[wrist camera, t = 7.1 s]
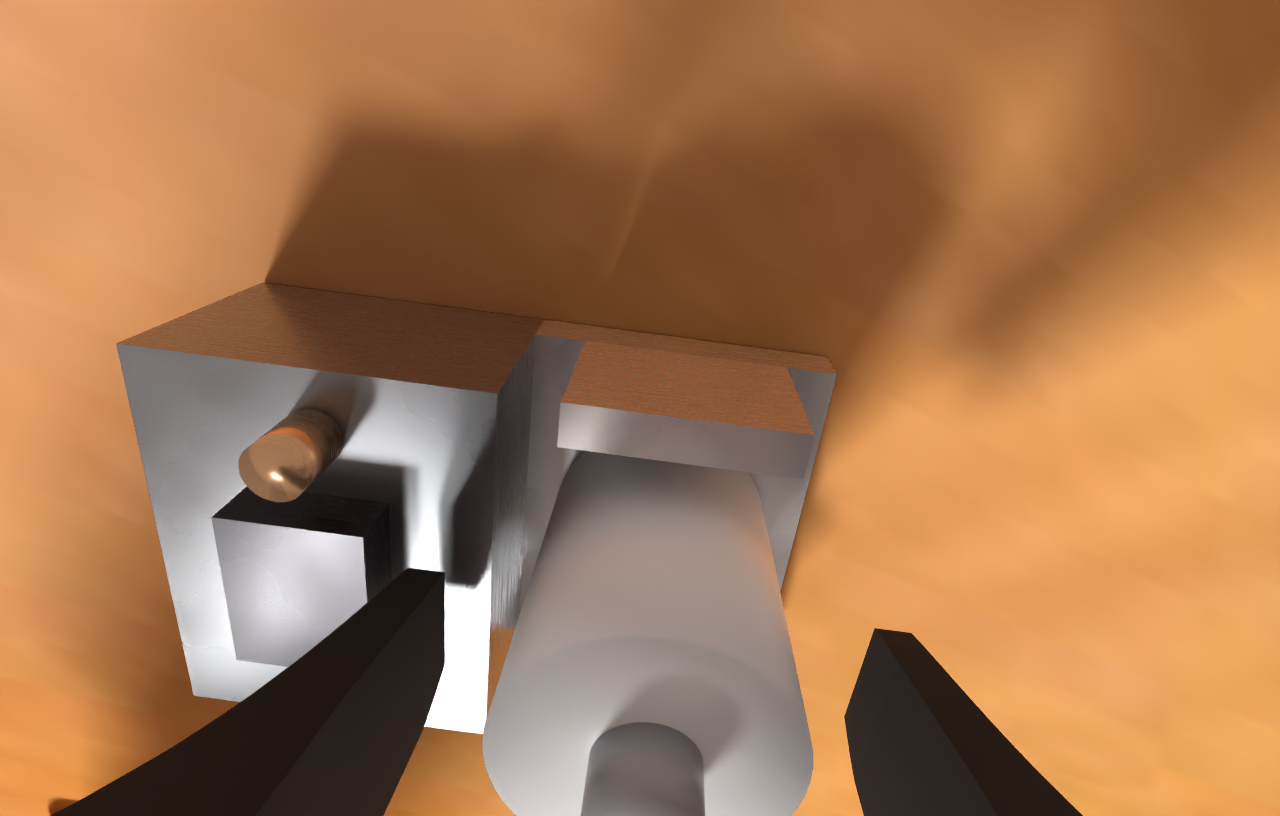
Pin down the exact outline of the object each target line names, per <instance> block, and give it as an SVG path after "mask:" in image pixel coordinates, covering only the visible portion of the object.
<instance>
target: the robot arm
mask: <svg viewBox="0 0 1280 816" xmlns="http://www.w3.org/2000/svg"><path fill="white" fill-rule="evenodd" d="M444 666H445V572H439V571H431V570H423V569H415V568H407V569H406V570H404V571H403V572H402V573H401V574H399V575H398V576H397V577H396V578H395V579H394V580H392V581H391V582H390V583H389V584H388V585H387V586H385V587H384V588H383V589H382V590H381V591H380V592H379V593H377V594H376V595H375V596H374V597H373V598H372V599H371V600H369V601H368V602H367V603H366V604H365V605H364V606H362V607H361V608H360V609H359V610H358V611H357V612H355V613H354V614H353V615H352V616H351V617H350V618H348V619H347V620H346V621H345V622H344V623H343V624H341V625H340V626H339V627H338V628H336V629H335V630H334V631H333V632H331V633H330V634H329V635H328V636H327V637H325V638H324V639H323V640H322V641H320V642H319V643H318V644H317V645H316V646H314V647H313V648H312V649H311V650H309V651H308V652H307V653H306V654H304V655H303V656H302V657H301V658H299V659H298V660H297V661H295V662H294V663H293V664H291V665H290V666H289V667H287V668H286V669H285V670H283V671H282V672H281V673H279V674H278V675H277V676H275V677H274V678H273V679H271V680H270V681H269V682H267V683H266V684H265V685H263V686H262V687H261V688H259V689H258V690H257V691H255V692H254V693H253V694H251V695H250V696H248V697H247V698H246V699H244V700H243V701H241V702H240V703H238V704H237V705H236V706H234V707H233V708H231V709H230V710H228V711H227V712H225V713H224V714H223V715H221V716H220V717H218V718H217V719H215V720H214V721H212V722H211V723H209V724H208V725H206V726H205V727H203V728H201V729H200V730H198V731H197V732H195V733H194V734H192V735H191V736H189V737H187V738H186V739H184V740H183V741H181V742H180V743H178V744H177V745H175V746H173V747H172V748H170V749H168V750H167V751H165V752H163V753H162V754H160V755H158V756H157V757H155V758H153V759H152V760H150V761H148V762H146V763H145V764H143V765H141V766H139V767H138V768H136V769H134V770H132V771H131V772H129V773H127V774H125V775H124V776H122V777H120V778H118V779H117V780H115V781H113V782H111V783H110V784H108V785H106V786H104V787H103V788H101V789H99V790H97V791H96V792H94V793H92V794H90V795H89V796H87V797H85V798H83V799H81V800H80V801H78V802H76V803H74V804H72V805H70V806H68V807H66V808H65V809H63V810H61V811H59V812H57V813H55V814H53V815H51V816H383V815H384V813H385V811H386V809H387V806H388V804H389V802H390V800H391V798H392V796H393V793H394V791H395V789H396V787H397V785H398V783H399V781H400V778H401V776H402V774H403V772H404V770H405V768H406V765H407V763H408V761H409V759H410V757H411V754H412V752H413V750H414V748H415V746H416V744H417V741H418V739H419V737H420V735H421V732H422V730H423V728H424V726H425V723H426V720H427V718H428V715H429V712H430V709H431V706H432V703H433V700H434V697H435V694H436V691H437V688H438V685H439V682H440V678H441V675H442V672H443V669H444ZM845 724H846V731H847V738H848V745H849V752H850V757H851V763H852V769H853V775H854V780H855V784H856V788H857V792H858V795H859V799H860V803H861V806H862V810H863V813H864V816H1083V815H1082V814H1080V813H1079V812H1078V811H1077V810H1076V809H1075V808H1074V807H1073V806H1072V805H1071V804H1070V803H1069V802H1068V801H1067V800H1066V799H1065V798H1064V797H1063V796H1062V795H1061V794H1060V793H1059V792H1058V791H1057V790H1056V789H1055V788H1054V787H1053V786H1052V785H1051V784H1050V783H1049V782H1048V781H1047V780H1046V779H1045V778H1044V777H1043V776H1042V775H1041V774H1040V773H1039V772H1038V771H1037V770H1036V769H1035V768H1034V767H1033V766H1032V765H1031V764H1030V763H1029V762H1028V761H1027V760H1026V759H1025V757H1024V756H1023V755H1022V754H1021V753H1020V752H1019V751H1018V750H1017V749H1016V748H1015V747H1014V746H1013V745H1012V744H1011V743H1010V742H1009V741H1008V740H1007V738H1006V737H1005V736H1004V735H1003V734H1002V733H1001V732H1000V731H999V730H998V729H997V728H996V727H995V726H994V724H993V723H992V722H991V721H990V720H989V719H988V718H987V717H986V716H985V715H984V713H983V712H982V711H981V710H980V709H979V708H978V707H977V706H976V705H975V704H974V702H973V701H972V700H971V699H970V698H969V697H968V696H967V695H966V693H965V692H964V691H963V690H962V689H961V688H960V687H959V686H958V684H957V683H956V682H955V681H954V680H953V679H952V678H951V677H950V675H949V674H948V673H947V672H946V671H945V670H944V669H943V667H942V666H941V665H940V664H939V663H938V662H937V661H936V660H935V658H934V657H933V656H932V655H931V654H930V653H929V652H928V651H927V650H926V648H925V647H924V646H923V645H922V644H921V643H920V642H919V641H918V640H917V639H916V638H915V637H914V636H913V634H912V633H906V632H899V631H891V630H883V629H876V628H875V629H874V632H873V635H872V638H871V641H870V644H869V647H868V649H867V652H866V655H865V658H864V661H863V664H862V667H861V670H860V673H859V676H858V679H857V682H856V684H855V687H854V690H853V693H852V696H851V699H850V702H849V705H848V708H847V711H846V714H845Z"/></svg>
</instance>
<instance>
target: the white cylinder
mask: <svg viewBox="0 0 1280 816" xmlns="http://www.w3.org/2000/svg"><path fill="white" fill-rule="evenodd" d="M482 747H483V757H484V762H485V766H486V770H487V773H488V776H489V778H490V780H491V782H492V784H493V786H494V788H495V790H496V791H497V793H498V794H499V796H500V797H501V799H502V800H503V802H504V803H505V804H506V805H507V806H508V808H509V809H510V810H511V811H512V812H513V813H514V814H515V815H516V816H791V815H792V814H793V813H794V812H795V811H796V809H797V808H798V806H799V805H800V803H801V801H802V800H803V798H804V796H805V794H806V791H807V789H808V786H809V784H810V780H811V775H812V770H813V749H812V743H811V738H810V733H809V728H808V723H807V719H806V714H805V709H804V704H803V699H802V695H801V690H800V685H799V680H798V675H797V671H796V666H795V661H794V656H793V651H792V647H791V642H790V637H789V632H788V627H787V623H786V618H785V613H784V608H783V603H782V599H781V594H780V589H779V584H778V579H777V574H776V570H775V565H774V560H773V555H772V550H771V546H770V541H769V536H768V531H767V526H766V522H765V517H764V512H763V507H762V502H761V498H760V495H759V492H758V489H757V486H756V485H755V483H754V481H753V479H752V477H751V475H750V474H749V473H748V472H742V471H735V470H727V469H719V468H712V467H704V466H697V465H689V464H682V463H674V462H666V461H659V460H651V459H644V458H636V457H628V456H621V455H613V454H606V453H598V452H591V451H586V452H585V453H584V454H583V455H582V456H580V457H579V459H578V460H577V461H576V462H575V463H574V464H573V465H572V466H571V468H570V469H569V471H568V472H567V474H566V475H565V477H564V479H563V482H562V484H561V486H560V489H559V492H558V495H557V498H556V501H555V504H554V508H553V511H552V514H551V517H550V520H549V523H548V526H547V530H546V533H545V536H544V539H543V542H542V545H541V549H540V552H539V555H538V558H537V561H536V564H535V568H534V571H533V574H532V577H531V580H530V583H529V586H528V590H527V593H526V596H525V599H524V602H523V605H522V609H521V612H520V615H519V618H518V621H517V624H516V628H515V631H514V634H513V637H512V640H511V643H510V646H509V650H508V653H507V656H506V659H505V662H504V665H503V669H502V672H501V675H500V678H499V681H498V684H497V688H496V691H495V694H494V697H493V700H492V703H491V706H490V710H489V713H488V716H487V720H486V723H485V727H484V731H483V742H482Z"/></svg>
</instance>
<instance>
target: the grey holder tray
mask: <svg viewBox="0 0 1280 816" xmlns="http://www.w3.org/2000/svg"><path fill="white" fill-rule="evenodd" d="M116 344H117V349H118V353H119V358H120V363H121V367H122V372H123V376H124V381H125V385H126V390H127V394H128V399H129V404H130V408H131V413H132V417H133V422H134V426H135V431H136V435H137V440H138V445H139V449H140V454H141V458H142V463H143V467H144V472H145V476H146V481H147V485H148V490H149V495H150V499H151V504H152V508H153V513H154V517H155V522H156V526H157V531H158V536H159V540H160V545H161V549H162V554H163V558H164V563H165V567H166V572H167V577H168V581H169V586H170V590H171V595H172V599H173V604H174V608H175V613H176V618H177V622H178V627H179V631H180V636H181V640H182V645H183V649H184V654H185V659H186V663H187V668H188V672H189V677H190V681H191V686H192V690H193V695H194V696H199V697H206V698H214V699H221V700H229V701H237V702H241V701H243V700H244V699H246V698H247V697H248V696H250V695H251V694H253V693H254V692H255V691H257V690H258V689H259V688H261V687H262V686H263V685H265V684H266V683H267V682H269V681H270V680H271V679H273V678H274V677H275V676H277V675H278V674H279V673H281V672H282V671H283V670H285V669H286V668H287V667H289V666H290V665H291V664H293V663H294V662H295V661H297V660H298V659H299V658H301V657H302V656H303V655H304V654H306V653H307V652H308V651H309V650H311V649H312V648H313V647H314V646H316V645H317V644H318V643H319V642H320V641H322V640H323V639H324V638H325V637H327V636H328V635H329V634H330V633H331V632H333V631H334V630H335V629H336V628H338V627H339V626H340V625H341V624H343V623H344V622H345V621H346V620H347V619H348V618H350V617H351V616H352V615H353V614H354V613H355V612H357V611H358V610H359V609H360V608H361V607H362V606H364V605H365V604H366V603H367V602H368V601H369V600H371V599H372V598H373V597H374V596H375V595H376V594H377V593H379V592H380V591H381V590H382V589H383V588H384V587H385V586H387V585H388V584H389V583H390V582H391V581H392V580H394V579H395V578H396V577H397V576H398V575H399V574H401V573H402V572H403V571H404V570H406V569H407V568H415V569H423V570H431V571H439V572H445V666H444V669H443V672H442V675H441V678H440V682H439V685H438V688H437V691H436V694H435V697H434V700H433V703H432V706H431V709H430V712H429V715H428V718H427V720H426V723H425V727H433V728H440V729H448V730H456V731H463V732H471V733H478V734H483V731H484V727H485V723H486V720H487V716H488V713H489V710H490V706H491V703H492V700H493V697H494V694H495V691H496V688H497V684H498V681H499V678H500V675H501V672H502V669H503V665H504V662H505V659H506V656H507V653H508V650H509V646H510V643H511V640H512V637H513V634H514V631H515V628H516V624H517V621H518V618H519V615H520V612H521V609H522V605H523V602H524V599H525V596H526V593H527V590H528V586H529V583H530V580H531V577H532V574H533V571H534V568H535V564H536V561H537V558H538V555H539V552H540V549H541V545H542V542H543V539H544V536H545V533H546V530H547V526H548V523H549V520H550V517H551V514H552V511H553V508H554V504H555V501H556V498H557V495H558V492H559V489H560V486H561V484H562V482H563V479H564V477H565V475H566V474H567V472H568V471H569V469H570V468H571V466H572V465H573V464H574V463H575V462H576V461H577V460H578V459H579V457H580V456H582V455H583V454H584V453H585V452H586V451H591V452H598V453H606V454H613V455H621V456H628V457H636V458H644V459H651V460H659V461H666V462H674V463H682V464H689V465H697V466H704V467H712V468H719V469H727V470H735V471H742V472H748V473H749V474H750V475H751V477H752V479H753V481H754V483H755V485H756V486H757V489H758V492H759V495H760V498H761V502H762V507H763V512H764V517H765V522H766V526H767V531H768V536H769V541H770V546H771V550H772V555H773V560H774V565H775V570H776V574H777V579H778V584H779V589H780V592H781V588H782V584H783V580H784V576H785V572H786V569H787V565H788V561H789V557H790V553H791V549H792V546H793V542H794V538H795V534H796V530H797V526H798V523H799V519H800V515H801V511H802V507H803V503H804V500H805V496H806V492H807V488H808V484H809V480H810V477H811V473H812V469H813V465H814V461H815V457H816V453H817V450H818V446H819V442H820V438H821V434H822V430H823V427H824V423H825V419H826V415H827V411H828V407H829V404H830V400H831V396H832V392H833V388H834V384H835V381H836V377H837V373H836V371H835V369H834V368H833V366H832V364H831V363H830V361H829V359H828V358H827V357H825V356H817V355H810V354H802V353H795V352H787V351H779V350H772V349H764V348H757V347H749V346H741V345H734V344H726V343H719V342H711V341H703V340H696V339H688V338H681V337H673V336H665V335H658V334H650V333H643V332H635V331H627V330H620V329H612V328H605V327H597V326H589V325H582V324H574V323H567V322H559V321H551V320H544V319H536V318H529V317H521V316H513V315H506V314H498V313H491V312H483V311H475V310H468V309H460V308H453V307H445V306H437V305H430V304H422V303H415V302H407V301H399V300H392V299H384V298H377V297H369V296H361V295H354V294H346V293H339V292H331V291H323V290H316V289H308V288H301V287H293V286H285V285H278V284H270V283H260V284H258V285H256V286H253V287H251V288H248V289H246V290H244V291H241V292H239V293H236V294H234V295H232V296H229V297H227V298H224V299H222V300H220V301H217V302H215V303H212V304H210V305H208V306H205V307H203V308H200V309H198V310H196V311H193V312H191V313H188V314H186V315H184V316H181V317H179V318H176V319H174V320H172V321H169V322H167V323H164V324H162V325H160V326H157V327H155V328H152V329H150V330H148V331H145V332H143V333H140V334H138V335H136V336H133V337H131V338H128V339H126V340H124V341H121V342H119V343H116Z"/></svg>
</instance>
